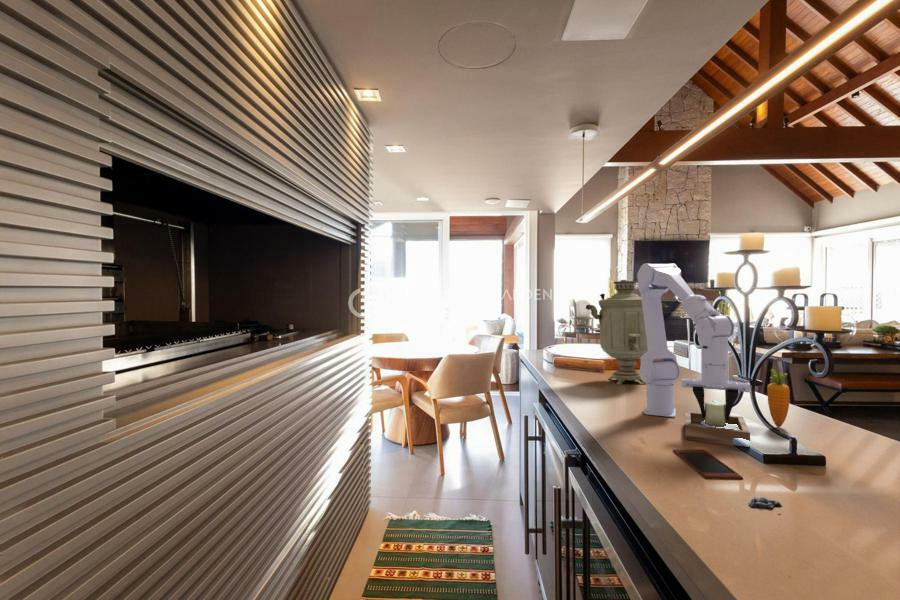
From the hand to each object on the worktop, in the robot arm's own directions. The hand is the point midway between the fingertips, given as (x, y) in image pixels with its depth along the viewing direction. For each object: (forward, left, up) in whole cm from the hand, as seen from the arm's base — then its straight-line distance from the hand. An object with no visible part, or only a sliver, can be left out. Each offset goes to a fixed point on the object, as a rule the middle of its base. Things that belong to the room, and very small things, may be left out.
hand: (714, 418), depth 109 cm
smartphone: (+22, -3, -5) cm, 23 cm away
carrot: (-14, +15, -4) cm, 21 cm away
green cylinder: (0, 0, -1) cm, 1 cm away
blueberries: (+38, +5, -5) cm, 39 cm away
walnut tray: (0, 0, -4) cm, 4 cm away
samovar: (-57, -27, -4) cm, 63 cm away
